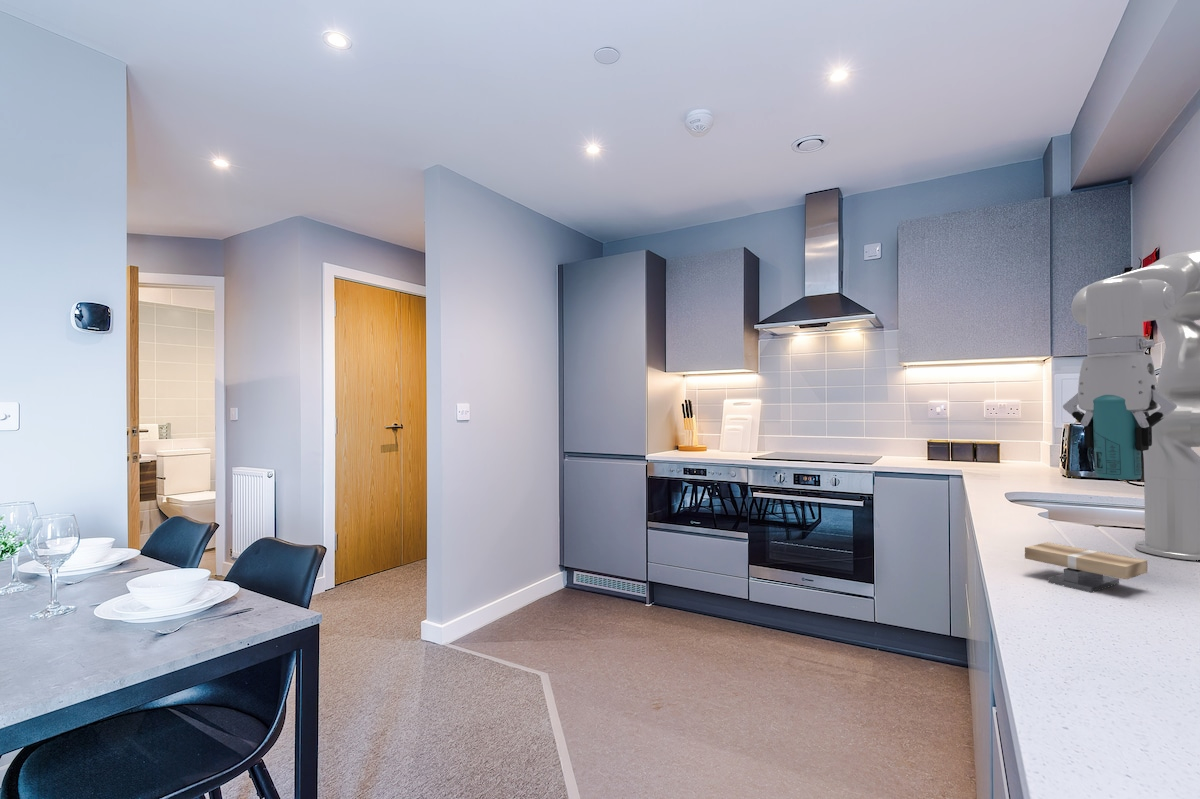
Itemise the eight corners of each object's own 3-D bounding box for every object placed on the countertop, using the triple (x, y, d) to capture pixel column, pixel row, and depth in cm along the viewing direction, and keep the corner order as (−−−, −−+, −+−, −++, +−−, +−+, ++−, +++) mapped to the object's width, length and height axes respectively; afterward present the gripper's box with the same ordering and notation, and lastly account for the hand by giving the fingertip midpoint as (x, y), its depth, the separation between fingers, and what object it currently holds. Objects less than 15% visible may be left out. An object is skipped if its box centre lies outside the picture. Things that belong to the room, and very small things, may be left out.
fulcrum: (1076, 574, 102) (1076, 559, 102) (1119, 583, 97) (1119, 567, 97) (1048, 582, 97) (1048, 566, 97) (1091, 592, 92) (1091, 575, 92)
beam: (1047, 553, 105) (1047, 542, 105) (1147, 572, 93) (1147, 560, 93) (1024, 558, 101) (1024, 547, 101) (1125, 579, 89) (1125, 566, 89)
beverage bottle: (1154, 487, 98) (1149, 372, 98) (1115, 488, 98) (1110, 373, 98) (1120, 482, 105) (1116, 374, 105) (1083, 483, 105) (1079, 375, 105)
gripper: (1190, 344, 96) (1192, 451, 96) (1067, 353, 111) (1069, 444, 111) (1172, 343, 92) (1174, 454, 92) (1047, 352, 107) (1050, 447, 107)
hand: (1117, 448), depth 101 cm, fingers closed on beverage bottle, 6 cm apart
